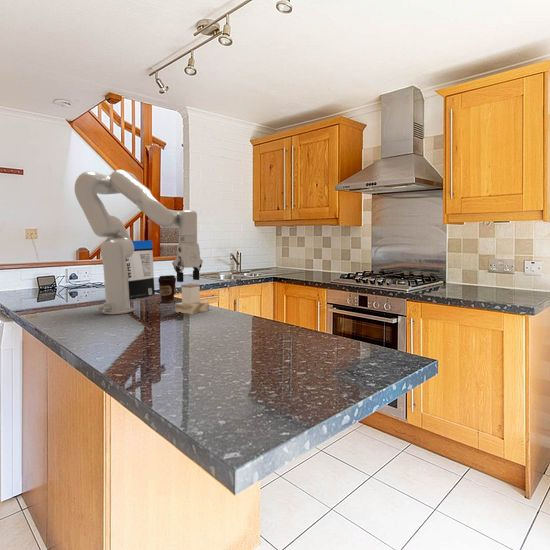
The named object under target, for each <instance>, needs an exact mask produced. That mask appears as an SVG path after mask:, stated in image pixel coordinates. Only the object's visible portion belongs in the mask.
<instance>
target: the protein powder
mask: <svg viewBox="0 0 550 550" xmlns="http://www.w3.org/2000/svg"><path fill="white" fill-rule="evenodd" d="M132 242H133V245H134V253H133V255H132V256H131V257H130V258H128V259H125V260H126V264H127V269H128V283H129V300H137V299H136V298H138V299H143V298H149V297H151V296H153V295H156V294H155V293H156V292H155V278H154V277H155V276H154V255H153V253H154V251H153V250H154V249H153V240H149V239H148V240H132Z"/></svg>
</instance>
